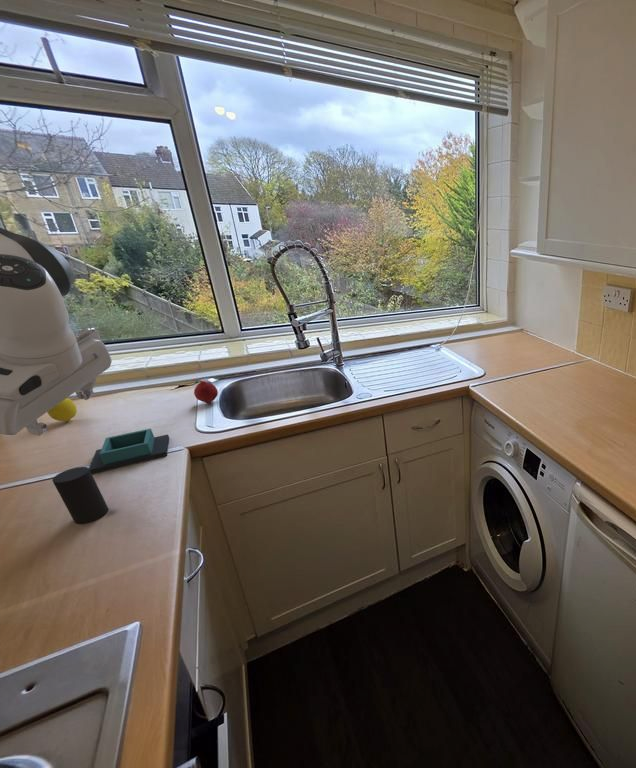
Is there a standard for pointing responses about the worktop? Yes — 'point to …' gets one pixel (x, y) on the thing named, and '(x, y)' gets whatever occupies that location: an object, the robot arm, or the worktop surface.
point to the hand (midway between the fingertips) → (63, 413)
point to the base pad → (129, 450)
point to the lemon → (63, 411)
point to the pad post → (80, 495)
